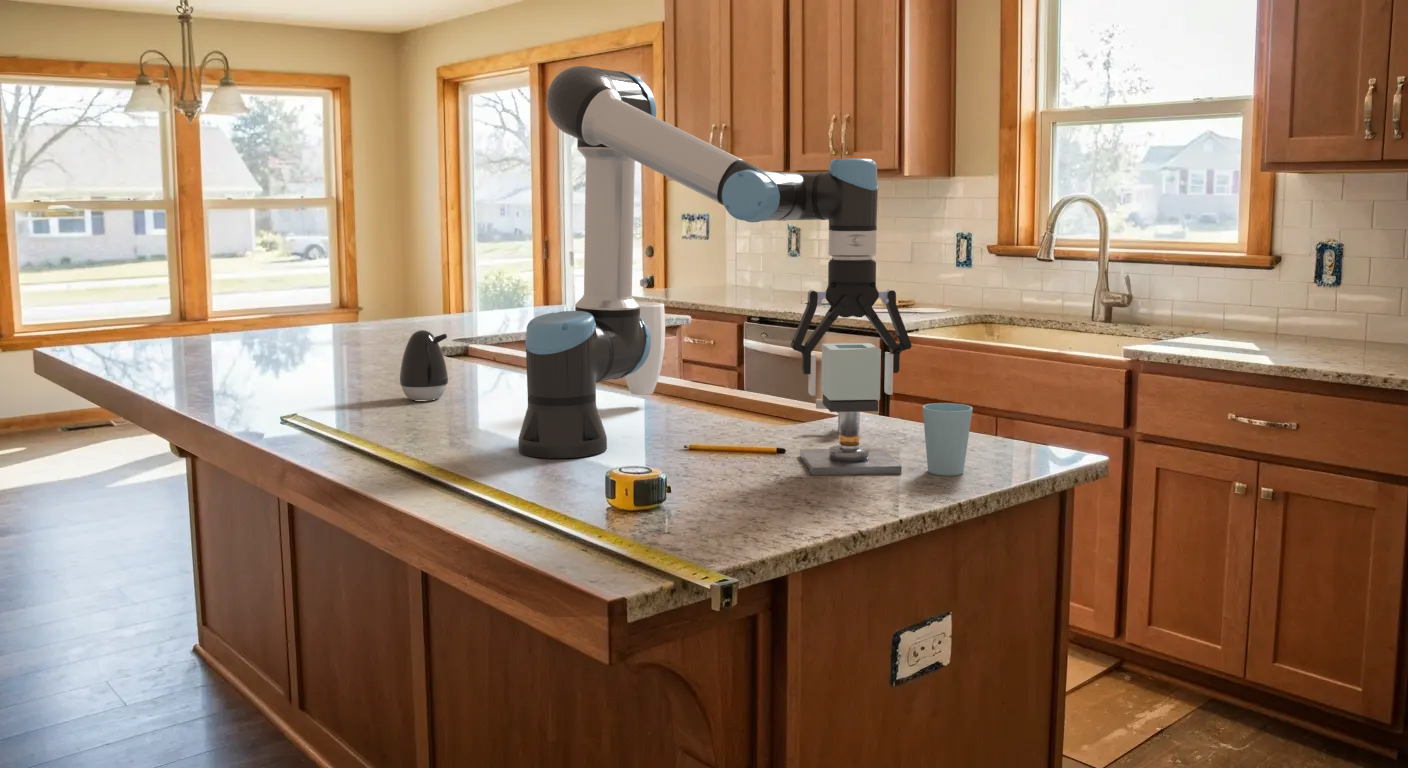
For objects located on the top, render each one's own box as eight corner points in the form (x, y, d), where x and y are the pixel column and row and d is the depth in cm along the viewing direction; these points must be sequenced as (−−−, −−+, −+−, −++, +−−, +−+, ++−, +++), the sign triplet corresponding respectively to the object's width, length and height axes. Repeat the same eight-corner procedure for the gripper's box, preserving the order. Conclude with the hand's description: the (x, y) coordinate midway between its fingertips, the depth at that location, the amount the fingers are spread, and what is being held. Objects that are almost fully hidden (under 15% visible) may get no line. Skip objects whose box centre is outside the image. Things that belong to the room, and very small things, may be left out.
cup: (976, 477, 182) (978, 410, 181) (928, 478, 182) (929, 411, 180) (963, 466, 190) (964, 402, 188) (916, 467, 189) (917, 403, 188)
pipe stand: (812, 475, 184) (813, 389, 182) (800, 456, 198) (800, 376, 196) (901, 473, 185) (903, 388, 183) (882, 455, 198) (884, 375, 196)
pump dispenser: (443, 403, 251) (441, 332, 249) (395, 403, 252) (392, 332, 249) (454, 395, 261) (452, 327, 259) (407, 395, 262) (404, 327, 259)
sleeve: (829, 400, 185) (830, 349, 184) (821, 392, 193) (822, 343, 192) (879, 399, 186) (880, 349, 185) (869, 391, 194) (870, 343, 192)
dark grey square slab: (830, 411, 186) (830, 401, 186) (822, 403, 193) (822, 394, 193) (878, 411, 186) (878, 401, 186) (868, 403, 194) (868, 393, 193)
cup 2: (676, 405, 248) (676, 303, 245) (648, 412, 239) (647, 306, 236) (636, 401, 254) (635, 301, 250) (607, 408, 245) (605, 304, 242)
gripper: (779, 259, 182) (778, 398, 185) (933, 258, 183) (929, 396, 186) (773, 257, 189) (773, 391, 192) (921, 256, 191) (918, 389, 194)
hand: (850, 394), depth 189 cm, fingers open, 12 cm apart
